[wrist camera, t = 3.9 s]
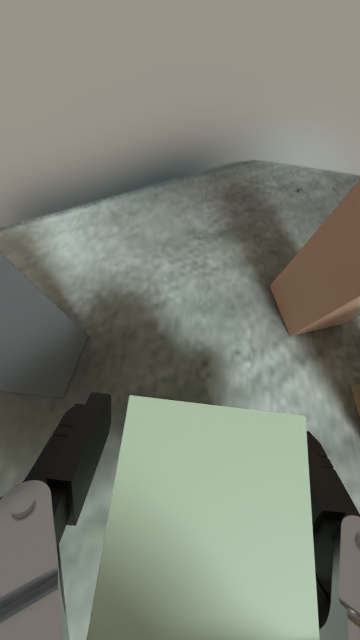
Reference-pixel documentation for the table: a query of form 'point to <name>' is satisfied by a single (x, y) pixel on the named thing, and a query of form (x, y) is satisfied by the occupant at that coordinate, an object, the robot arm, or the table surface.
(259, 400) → the table surface
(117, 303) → the table surface
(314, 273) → the terracotta block
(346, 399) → the table surface
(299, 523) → the green block
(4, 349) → the charcoal block
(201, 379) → the table surface
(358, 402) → the oak block
